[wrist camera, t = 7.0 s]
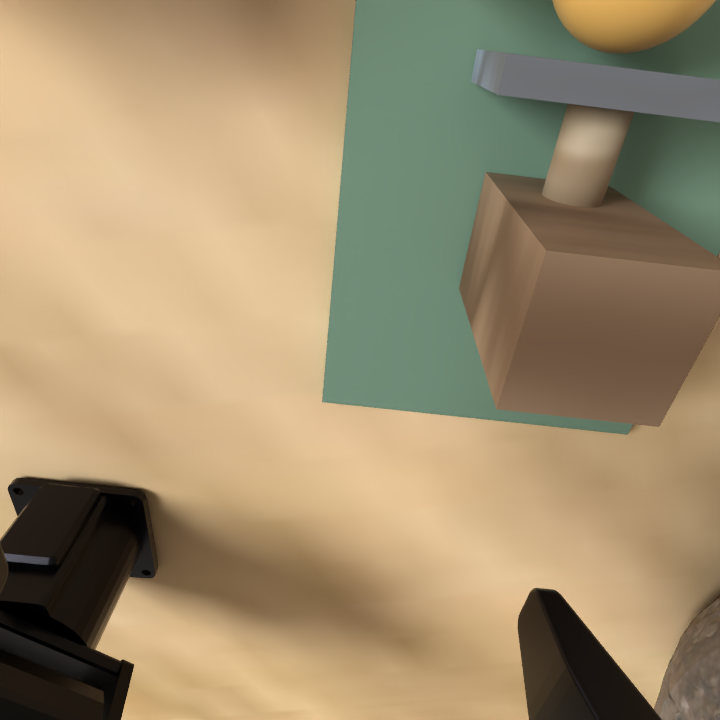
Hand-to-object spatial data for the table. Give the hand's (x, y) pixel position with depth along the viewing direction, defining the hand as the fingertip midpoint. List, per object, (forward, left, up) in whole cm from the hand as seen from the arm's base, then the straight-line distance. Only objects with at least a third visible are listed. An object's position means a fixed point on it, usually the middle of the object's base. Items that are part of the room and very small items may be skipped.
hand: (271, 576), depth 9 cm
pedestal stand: (+4, -7, -12) cm, 14 cm away
